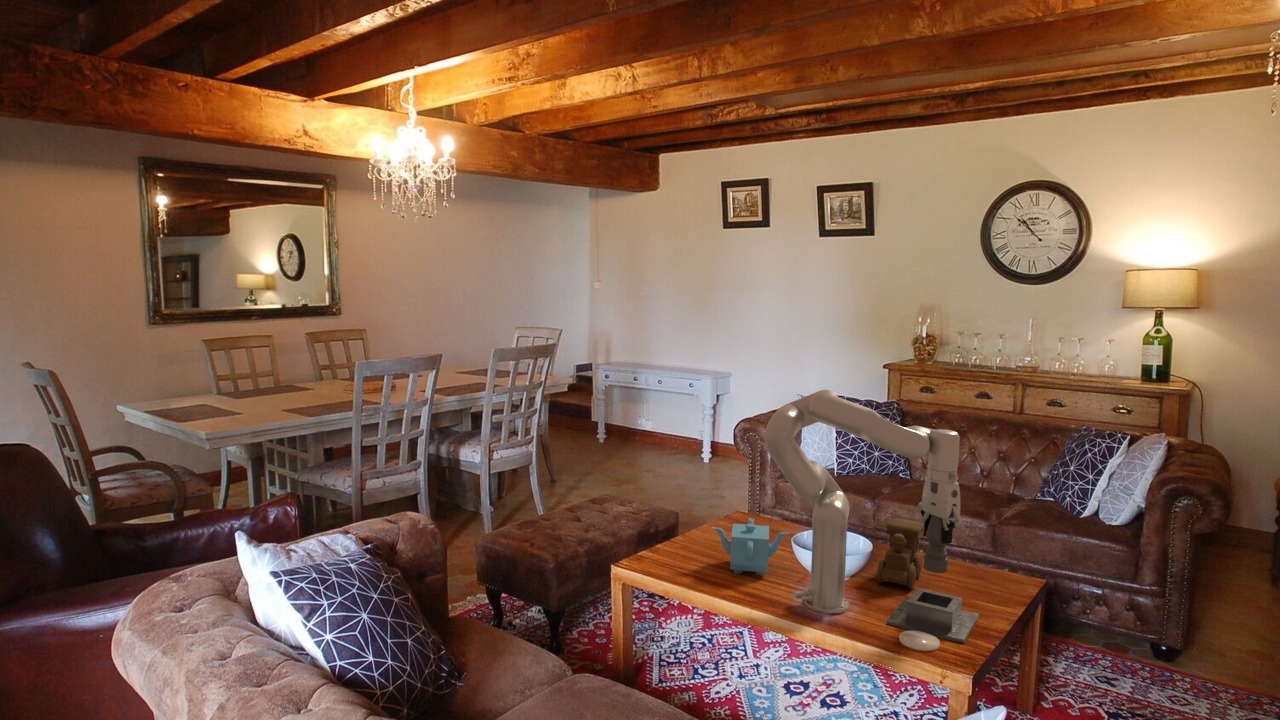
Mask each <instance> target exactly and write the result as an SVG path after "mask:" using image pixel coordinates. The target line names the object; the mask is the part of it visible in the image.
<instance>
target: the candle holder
mask: <svg viewBox="0 0 1280 720" xmlns="http://www.w3.org/2000/svg"><path fill="white" fill-rule="evenodd" d="M937 490H938V483H936V482H932V481H931V490H930V491H931V492H932V493H935V494H937ZM933 495H934V494H933ZM931 504H932V505H934V506H936V504H935V503H933V502H931ZM942 529H944V525H943V520H942V518H939V517H937V516H935V515H932V517H931V520H930V523H929V526H928V529H927V532H926V536H925V537H926V541H927V542H928V543H927V544H928V545H929V546H927V548H925V554H924V555H923V557H924V558H923V569H924V571H928V572H931V573H936V574H944V573H947V572H948V564H949V559H948V558H949V557H947V556H948V552H947V550H946V545H947V544H942V543H941V539H942Z"/></svg>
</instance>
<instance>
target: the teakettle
mask: <svg viewBox="0 0 1280 720" xmlns="http://www.w3.org/2000/svg"><path fill="white" fill-rule="evenodd" d="M754 522H755V519H754V518H753V517H749V518H748V523H745V524H744V523H732V529H731V535H730V541H729V540H728V538H727V536H726V533H725V531H724V530H723V528H721V527H718V526H717V527H716V526H712V527H711V529H712V530H714V531H716V532H717V534H719V535H718V536H719V538H720V541H721V545H722V547H723V549H724V551H725V552H726V553H728V554H730V556H729V557H730V560H729V561H730V562H729V570H730V571H732V573H733V572H734V573H733V574H735V573H736V574H737V575H741V574H743V572H752V573H755V575H756V574H757V576H759V575H763V576H765V575H766V574H767V573H769V557H772V556H773V555H775V554H776V552H777V551H778V549H779V547H780V544H781V541H782V539H783V538H784V537H785V536H787V535H790V532H788V531H782V532H779V533H778V534H776V537H775V539H774V541H773V542H772V543H771V544H770V526H769V525H759V524H758V525H757V524H755V523H754ZM740 573H741V574H740Z"/></svg>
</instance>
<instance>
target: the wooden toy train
mask: <svg viewBox="0 0 1280 720" xmlns="http://www.w3.org/2000/svg"><path fill="white" fill-rule="evenodd" d="M886 525H887V526H886V535H888V536H889V541H888V542H889V548H888V550H887V551H886V552H885V555H884V559H881V560H879V562H878V566H877V572H876V578H877V581H878V582H879V583H880V584H882V583H884V582H885V581H886V582H889V583H894V584H900V585H905V586H907V588H908V589H914V588H915V584H916V579H917V578H919V577H920V576H921V573H922V564H923V560H922V557H921V556H920V555H918V551H919V545H920V538H921V537H922V536H923V534H924V522H919V521H915V520H910V519H909V520H908V519H905V518H904V519H903V518H902V519H901V518H892V519H890V520H889V521H888V522H887V524H886Z"/></svg>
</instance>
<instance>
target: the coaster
mask: <svg viewBox="0 0 1280 720" xmlns="http://www.w3.org/2000/svg"><path fill="white" fill-rule="evenodd" d="M938 638H939V637H936V636H933V635H931V634H928V633H925V632H921V631H912V630H905V631H902V632H900V634H899V636H898V640H899V642H900V643H901V644H902V645H903V646H904V647H907V648H908V649H911V650H915V651H919V652H920V651H921V652H932V651H933V652H934V651H936V650H938V649H939V648H940V647H939V646H941V641H940V640H939V639H938Z"/></svg>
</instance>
